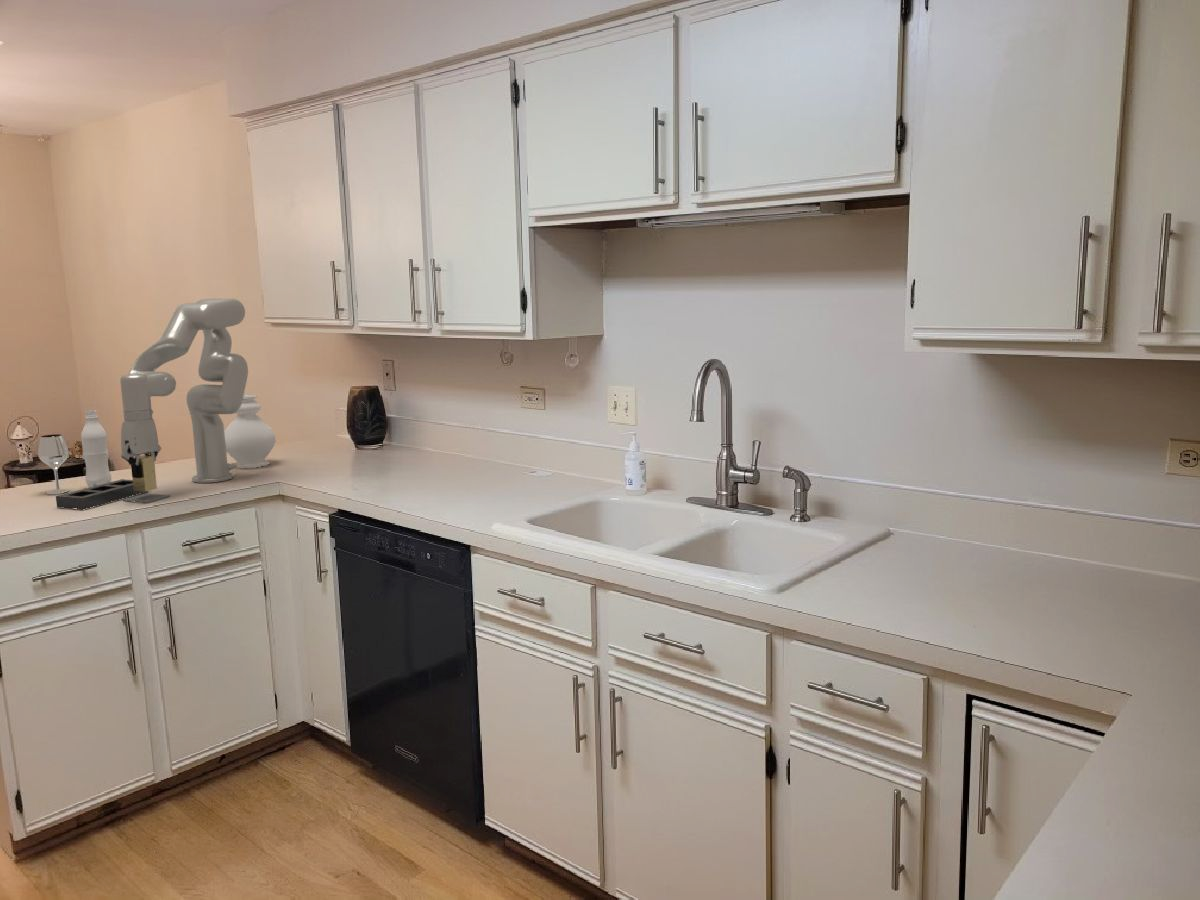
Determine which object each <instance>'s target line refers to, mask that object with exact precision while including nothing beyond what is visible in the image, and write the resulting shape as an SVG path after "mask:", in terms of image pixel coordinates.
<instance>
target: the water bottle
mask: <svg viewBox="0 0 1200 900" xmlns="http://www.w3.org/2000/svg"><path fill="white" fill-rule="evenodd" d="M84 418H85V419H86V420H85V424H84V426H83V429H82V431H81V434H80V439H81V446H82V458H83V460H84V463H85V482H86V485H87V487H88V488H90V487H94V486H98V485H102V484H106V483H110V482H112V475H111V472H110V468H109V454H110V453H109V449H108V448H109V447H108V440H107V436H108V435H107V432H106V430H105V429H104V427H103V425H101V423H100V421H99V419H98V418H99V416H98V413H97V409H87V410H85V417H84Z"/></svg>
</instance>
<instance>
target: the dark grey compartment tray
mask: <svg viewBox="0 0 1200 900" xmlns="http://www.w3.org/2000/svg"><path fill="white" fill-rule="evenodd" d="M146 492H147V491H146ZM139 493H143V491H134V488H133V479H117V480H114V481H111V482H110V483H106V484H102V485H98V486H94V487H90V488H89V487H88V488H83V489H79V490H75V491H70V492H68V493H64V494H57V495H55V503H56V508H57V507H64V508H77V509H86V508H90V507H93V506H97V505H100V506H102V505H101V504H104V505H106V504H105V503H108V502H111V501H115V500H118V501H120V500H119V499H122V498H125V499H127V498H126V497H129V496H132V495H136V494H139ZM147 493H148V492H147ZM143 494H144V493H143ZM136 496H137V495H136ZM129 498H130V497H129ZM122 500H123V499H122ZM115 502H116V501H115ZM111 503H112V502H111ZM108 504H109V503H108ZM97 507H98V506H97ZM64 508H63V509H64ZM93 508H94V507H93ZM90 509H91V508H90ZM86 510H87V509H86Z"/></svg>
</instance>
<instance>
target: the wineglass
mask: <svg viewBox="0 0 1200 900" xmlns="http://www.w3.org/2000/svg"><path fill="white" fill-rule="evenodd" d="M37 455H38V458H39V460H40V461H41V462H42V463H44V464H45V465H46V466H48V467H50V468H51V469H52V470H53V473H54V481H55V489H53V490H50V491H47V492H46V493H45V494H46V495H48V494H56V495H61V494H60V493H62V492H63V493H64V492H65V491H66V492H67V490H68V489H61V488H60V483H59V475H58V474H59V473H58V469H59V468H60V467H61V466H62V464H64V463H65V462H67V459H68V458H69V455H70V452H69V447H68V445H67V442H66V440H65V438H64V435H63V434H56V433H55V434H46V435H40V438H39V443H38V450H37ZM64 494H65V493H64Z"/></svg>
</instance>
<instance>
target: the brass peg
mask: <svg viewBox="0 0 1200 900" xmlns="http://www.w3.org/2000/svg"><path fill="white" fill-rule="evenodd" d="M134 459H135V456H134ZM139 465H141V471H142V478H133V477H132V476H131V477H132V480H133V488H134V491H143V492H146V491H152V490H153V491H154V490H157V487H158V486H157V478H156V465H155V461H154V456H145V455H144V454H141V455H140V460H139Z"/></svg>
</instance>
